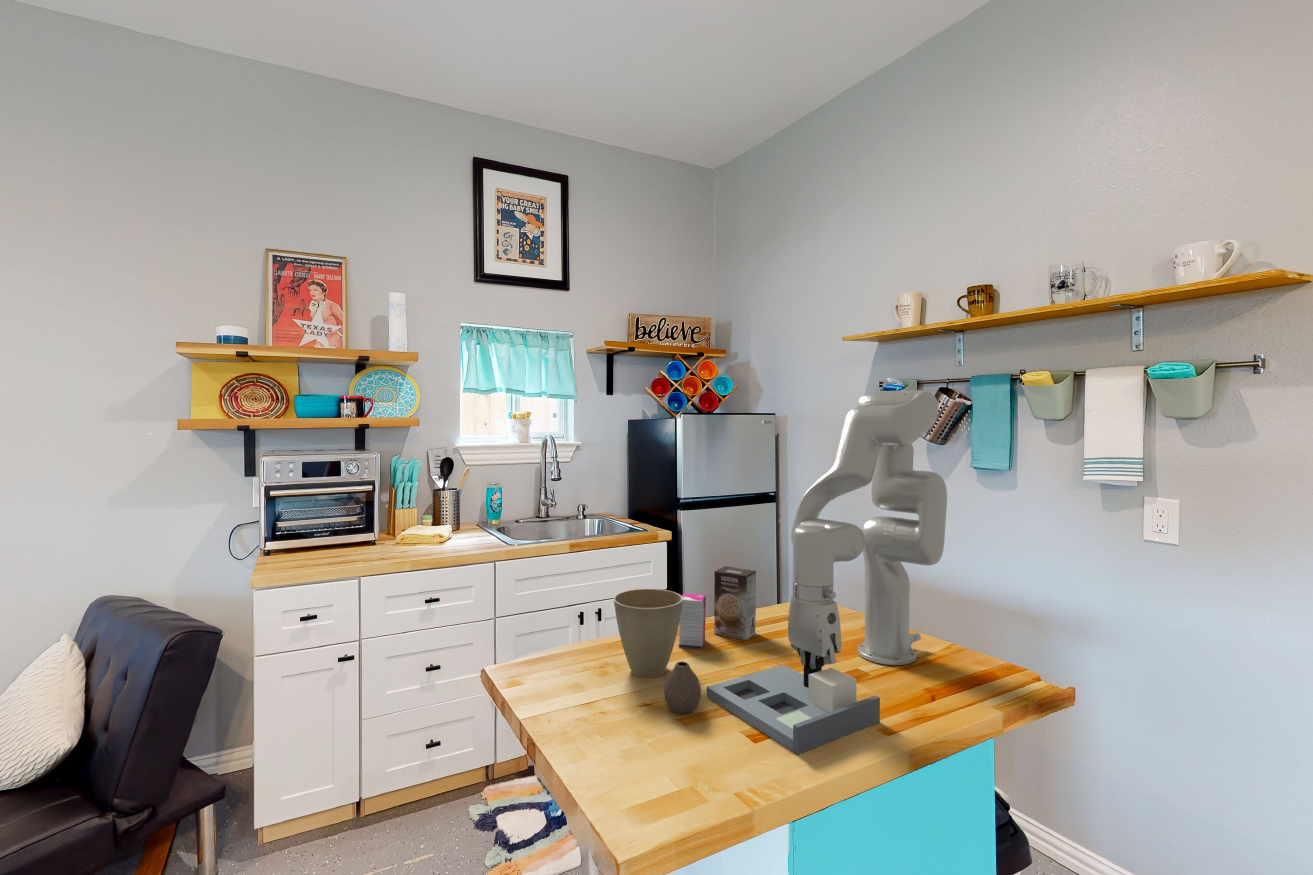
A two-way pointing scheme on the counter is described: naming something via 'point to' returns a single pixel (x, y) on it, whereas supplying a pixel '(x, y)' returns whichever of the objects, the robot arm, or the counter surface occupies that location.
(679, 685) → the vase
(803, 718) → the board
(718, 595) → the coffee box
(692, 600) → the supplement box
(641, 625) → the plant pot
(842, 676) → the cream block
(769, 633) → the counter surface
